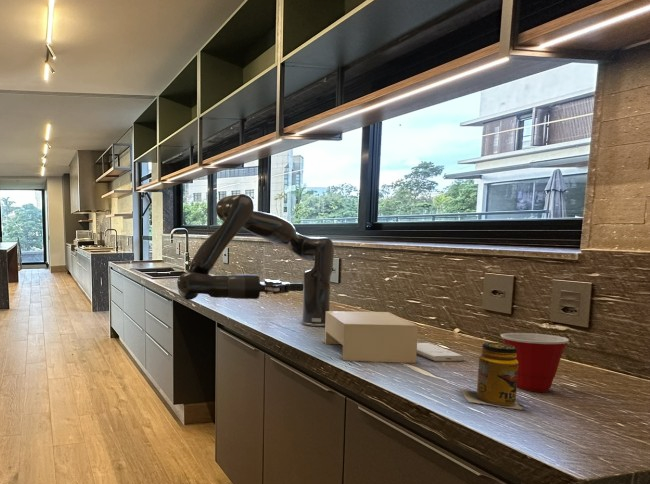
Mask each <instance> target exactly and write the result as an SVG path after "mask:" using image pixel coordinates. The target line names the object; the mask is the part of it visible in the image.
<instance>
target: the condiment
mask: <svg viewBox="0 0 650 484" xmlns="http://www.w3.org/2000/svg"><path fill="white" fill-rule="evenodd" d="M481 346H482V349H481V354H480V355H479V357H478V368H477V370H478V371H477V385H476V390H469V389H463V388H460V389H459V390H460V392H461V393H462V395H463V397H464V398H465V399H466V401H467V402H468V403H473V404H482V405H489V406H493V407H494V406H495V407H499V408H505V409H506V408H507V409H515V410H523V407H522V406H520V404H519V403H517V401H516V398H517V391H518V389H517V388H518V387H517V376H518V367H519V365H518V361H517V360H516V357H517V355H516V353H517V349H516V348H515V347H514V346H511V345H508V344H505V343H503V342H502V343H501V342H493V341H492V342H484V343H483V344H482V345H481Z"/></svg>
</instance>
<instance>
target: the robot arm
mask: <svg viewBox="0 0 650 484" xmlns="http://www.w3.org/2000/svg"><path fill="white" fill-rule="evenodd" d="M215 212H216V216H217V218H219V219H220V221H222V222H223V223H222V224H221V225H220V226H219V227H218V228H217V229H216V230H215V231H214V232H213V233H212V234H210V236H209V237H207V238H206V239H205V241H203V243H202V244H201V245H200V246H199V248H198V250H196V252H195V254H194V256H193V258H192V259H191V262H190V263H189V264H190V266H189V268H188V270H187V272H184V273H182V274H180V275H179V277H178V278H177V280H176V287H177V292H178V294H179V296H180V297H181V298H182V299H183V300H186V301H190V300H194V299H196V298H197V297H198V296H199V295H200V294H201V295H208V296H209V297H211V298H216V299H227V298H228V299H235V300H258V299H259V298H260V296H261V293H265V294H266V295H279V294H288V293H289V292H302V320H301V323H302V325H305V326H310V327H325V317H326V311H330V306H331V305H330V303H331V276H332V273H333V270H334V269H333V268H334V258H335V245H334V242H333V240H332V239H331V238H329V237H325V236H324V237H323V236H322V237H320V236H317V237H316V236H306V235H302V234H300V233H298V232H297V231H296V227H295V226H294V225H293V224H292V223H291V222H290V221H288V220H286V219H285V218H282V217H280V216H278V215H275V214H272V213H267V212H262V211H258V210H255V203H254V200H253V198H252V197H251V196H250V195H248V194H245V193H239V194H233V195H227V196H224V197H222V198H220V199H219V200H218V201H217V203H216V206H215ZM242 229H243V230H246V231H248V232H249V233H251V234H253V235H254V236H257V237H260V238H261V239H263V240H265V241H267V242H269V243H271V244H274V245H276V246H278V247H280V248H283V249H285V250H288V251H290V252H292V254H295V255H296V256H298V257H299V258H300V259H302V260H304V261H307V262H313V263H314V264H313V267H312V268H311V269H309V270H305V271H304V272H303V274H302V278H303V279H302V280H303V281H302V283H301V282H288V281H280V280H271V279H264V281H261V279H260V275H259V274H228V275H227V274H226V275H224V274H223V275H222V274H221V275H219V274H216V275H212V274H210V273H211V272H212V270H213V269H214V267H215V265H216V264H217V262H218V261H219V258H220V257H221V255H222V254H223V252H224V251H225V249H226V248H227V247H228V246H229V245H230V243H231V242H232V240H233V239H234V238H235V236H236V235H237V234H238V233H239V232H240V231H241V230H242Z"/></svg>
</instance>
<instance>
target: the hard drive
mask: <svg viewBox="0 0 650 484" xmlns="http://www.w3.org/2000/svg"><path fill="white" fill-rule="evenodd" d="M417 355H419V356H422V357H424V358H426V359H428V360H431V361H434V362H462V361H464V360H465V356H464V355H462V354H459V353H457V352H454V351H452V350H449V349H446V348H444V347H441V346H440V345H436V344H433V343H431V342H417Z"/></svg>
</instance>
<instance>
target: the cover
mask: <svg viewBox="0 0 650 484" xmlns="http://www.w3.org/2000/svg"><path fill="white" fill-rule="evenodd" d="M418 333H419V325H418V324H416V323H414V322H411V321H409V320H407V319H405V318H403V317H400V316H398V315H395V314H393V313H392V312H389V311H349V310H348V311H346V310H345V311H340V310H339V311H338V310H335V311H334V310H329V311H326V317H325V326H324V344H326V345H341V346H342V357H341V358H342V359H341V360H342V361H351V362H374V363H375V362H377V363H380V362H381V363H404V364H405V363H406V364H416V363H417V355H418V354H417V343H418Z"/></svg>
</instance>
